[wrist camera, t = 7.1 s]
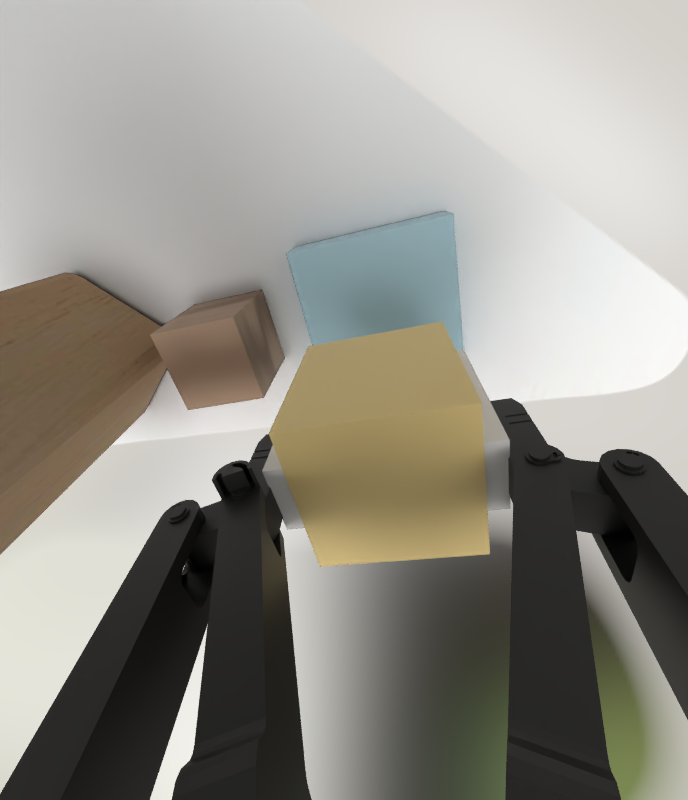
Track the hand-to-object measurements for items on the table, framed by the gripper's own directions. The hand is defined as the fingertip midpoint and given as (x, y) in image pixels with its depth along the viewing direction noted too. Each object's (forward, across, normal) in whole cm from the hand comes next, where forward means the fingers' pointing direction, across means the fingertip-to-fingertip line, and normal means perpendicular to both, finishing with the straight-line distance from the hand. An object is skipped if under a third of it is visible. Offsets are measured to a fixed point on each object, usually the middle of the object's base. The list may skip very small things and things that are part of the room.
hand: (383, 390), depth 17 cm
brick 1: (+14, -12, 0) cm, 19 cm away
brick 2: (0, 0, 0) cm, 1 cm away
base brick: (+14, 0, 0) cm, 14 cm away
